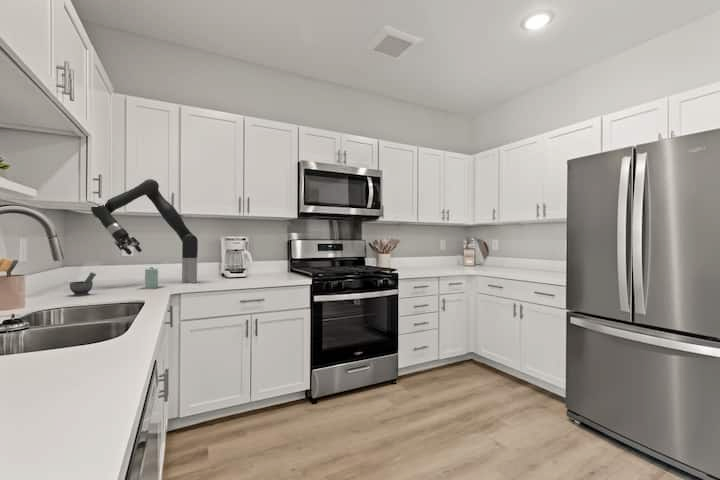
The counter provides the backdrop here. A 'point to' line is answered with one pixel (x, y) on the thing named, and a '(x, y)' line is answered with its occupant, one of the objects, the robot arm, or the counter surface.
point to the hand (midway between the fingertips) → (135, 252)
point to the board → (153, 288)
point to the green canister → (151, 278)
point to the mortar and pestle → (82, 286)
